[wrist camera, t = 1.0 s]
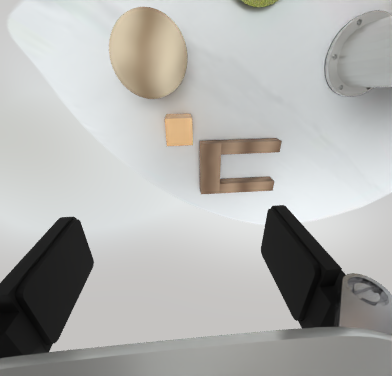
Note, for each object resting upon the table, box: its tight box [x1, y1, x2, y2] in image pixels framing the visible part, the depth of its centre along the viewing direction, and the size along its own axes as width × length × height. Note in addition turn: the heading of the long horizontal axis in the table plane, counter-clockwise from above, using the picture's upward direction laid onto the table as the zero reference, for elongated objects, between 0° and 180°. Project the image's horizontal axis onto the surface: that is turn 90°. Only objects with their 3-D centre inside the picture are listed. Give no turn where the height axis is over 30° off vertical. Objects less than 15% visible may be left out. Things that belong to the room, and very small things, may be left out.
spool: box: [109, 7, 187, 99], centre depth 29 cm, size 9×9×12 cm
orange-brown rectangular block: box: [165, 114, 193, 146], centre depth 36 cm, size 4×4×6 cm
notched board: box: [200, 138, 281, 194], centre depth 42 cm, size 16×11×2 cm
